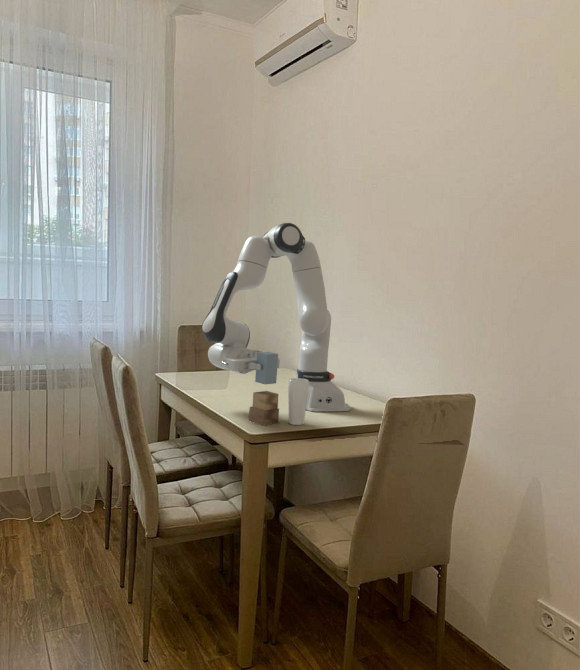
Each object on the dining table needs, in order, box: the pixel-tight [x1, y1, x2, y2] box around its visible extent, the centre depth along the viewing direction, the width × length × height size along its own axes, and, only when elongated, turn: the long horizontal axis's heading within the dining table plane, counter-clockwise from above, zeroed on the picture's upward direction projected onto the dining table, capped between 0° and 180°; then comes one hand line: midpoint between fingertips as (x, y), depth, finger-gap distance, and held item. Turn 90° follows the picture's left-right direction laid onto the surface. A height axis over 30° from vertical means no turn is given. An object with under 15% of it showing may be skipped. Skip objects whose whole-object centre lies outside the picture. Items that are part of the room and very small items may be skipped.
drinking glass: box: [287, 377, 309, 426], centre depth 195 cm, size 7×7×15 cm
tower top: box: [252, 390, 279, 410], centre depth 195 cm, size 6×6×5 cm
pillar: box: [254, 351, 279, 385], centre depth 194 cm, size 5×5×10 cm
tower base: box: [248, 406, 280, 426], centre depth 195 cm, size 7×7×5 cm
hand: (268, 366), depth 193 cm, fingers closed on pillar, 5 cm apart
